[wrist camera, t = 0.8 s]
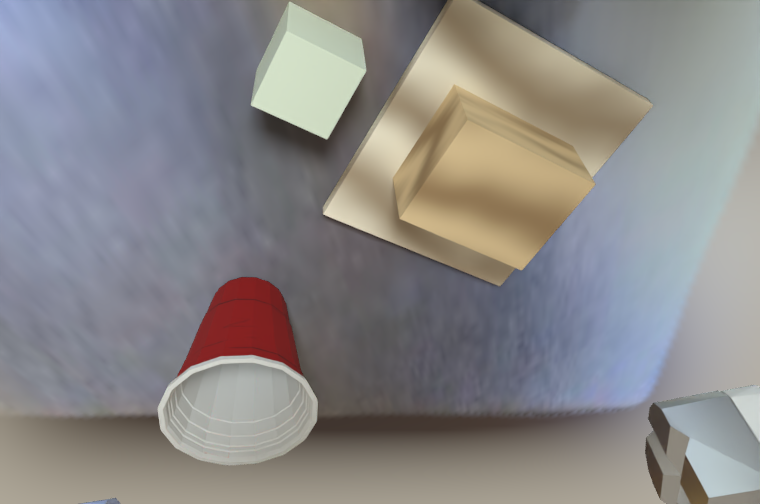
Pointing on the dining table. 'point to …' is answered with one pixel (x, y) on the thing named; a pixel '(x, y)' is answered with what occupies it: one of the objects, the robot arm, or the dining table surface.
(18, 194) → the dining table surface
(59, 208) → the dining table surface
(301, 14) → the sage cube
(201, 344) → the plastic cup
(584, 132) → the foundation base
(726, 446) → the robot arm
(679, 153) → the dining table surface
